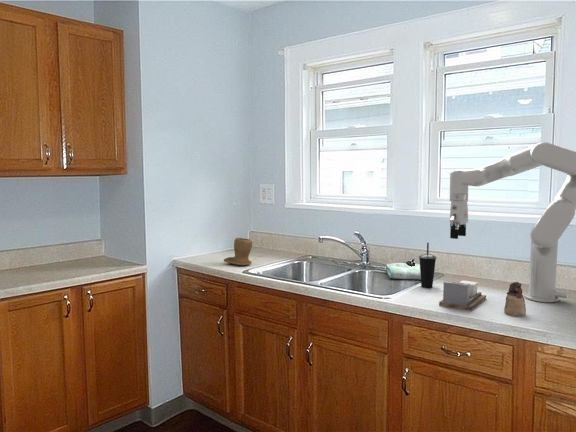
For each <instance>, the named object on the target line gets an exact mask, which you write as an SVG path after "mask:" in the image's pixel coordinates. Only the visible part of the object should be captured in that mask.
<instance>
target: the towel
mask: <svg viewBox="0 0 576 432" xmlns="http://www.w3.org/2000/svg"><path fill="white" fill-rule="evenodd" d="M406 263H407V262H393V263H387V264H386V265H385V266H386V273H387V275H388V277H389V278H390V279H395V280H415V281H416V280H417V281H421V274H420V263H415V266H412V267H411V266H408V265H407V264H406Z"/></svg>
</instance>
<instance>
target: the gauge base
mask: <svg viewBox="0 0 576 432" xmlns="http://www.w3.org/2000/svg"><path fill="white" fill-rule="evenodd" d="M486 298H487V295H484V294H482V292H481V291H477V294H476V295H474V296H473V297H469V305H468V306H461V305H455V304H449V303H443V299H442V300H440V301H439V302H438V305H439V306H440V307H444V308H451V309H456V310H461V311H463V310H464V311H469V312H472V311H473V310H474V309H475V308H477V307H478V306H479V305H480V304H482V303H483V302H484V301H486ZM439 306H438V307H439Z"/></svg>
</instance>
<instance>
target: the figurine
mask: <svg viewBox="0 0 576 432" xmlns="http://www.w3.org/2000/svg"><path fill="white" fill-rule="evenodd" d="M503 309H504V310H503V313H504V314H505V315H507V316H510V317H518V318H519V317H520V318H521V317H525V316H526V314H527V309H526V299H525V297H524V295H523V288H522V283H521V282H519V281H514V282H511V283H510V284H509V287H508V291H507V292H506V297H505V304H504V308H503Z"/></svg>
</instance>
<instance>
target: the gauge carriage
mask: <svg viewBox="0 0 576 432" xmlns="http://www.w3.org/2000/svg"><path fill="white" fill-rule="evenodd" d="M459 283H466V284H470V297H473V296H474V295H476V294H477V293H478V281H469V280H461V281H459Z"/></svg>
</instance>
